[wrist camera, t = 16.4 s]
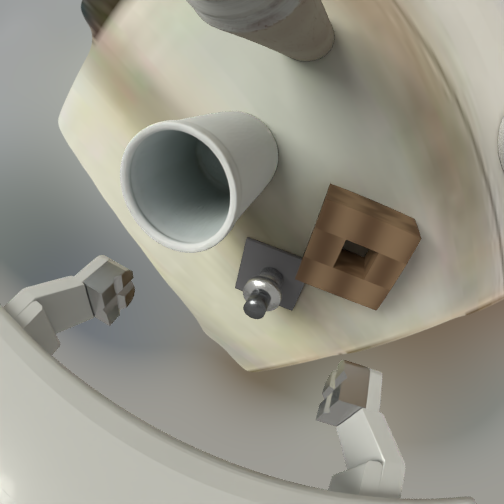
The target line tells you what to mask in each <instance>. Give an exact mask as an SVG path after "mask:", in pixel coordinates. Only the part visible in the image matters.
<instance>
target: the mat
mask: <svg viewBox="0 0 504 504" xmlns="http://www.w3.org/2000/svg"><path fill="white" fill-rule="evenodd" d="M301 261H302V258H301V257H299V256H296V255H294V254H291V253H288V252H286V251H283V250H281V249H278V248H275V247H273V246H270V245H268V244H265V243H262V242H260V241H257V240H254V239H252V238H249V237H247V239H246V243H245V247H244V252H243V256H242V260H241V265H240V269H239V273H238V278H237V282H236V286H235V288H236V289H239V290H241V291H243V289H244V287H245V285H246V283H247V282H248V280H249V279H250V278H252V277H254V276H258V275H259V273H260V271H261V270H262V269H264V268H266V267H271V268H275V269H276V270H278V271H279V272H280V273H281V274H282V277H283V282H282V284H281V286H280V288H281V290H282V299H281V301H280V304H279V306H281V307H284V308H286V309H289V310H291V311H292V310H293V308H294V306H295V304H296V301H297V299H298V297H299V295H300V293H301V290H302V288H303V286H304V284H305V283H303V282H301V281H298V280H296V279H295V277H296V274H297V272H298V269H299V266H300V264H301Z"/></svg>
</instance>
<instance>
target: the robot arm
mask: <svg viewBox="0 0 504 504" xmlns="http://www.w3.org/2000/svg"><path fill="white" fill-rule="evenodd" d="M498 150H499V157H500V161H501V165H502V168H503V170H504V117H503V119H502V122H501V125H500V129H499V136H498ZM132 279H133V272H132V271H131V270H129V269H127V268H126V267H124V266H122V265H120V264H118V263H117V262H115V261H113V260H111V259H109V258H108V257H106V256H104V255H100V256H98V257H97V258H95V259H94V260H93V261H92V262H91V263H89V264H88V265H87V266H86V267H84V268H83V269H82V270H81V271H80V272H79V273H78V274H77V275H75V276H74V277H72V276H68V277H64V278H60V279H57V280H53V281H49V282H45V283H42V284H38V285H34V286H30V287H27V288H24V289H23V290H21V291H20V292H19V293H18V294H17V295H16V296H15V297H14V298H13V299H12V300H10V301H9V302H8V303H7V304H6V305H5V306H4V307H2V306H1V305H0V504H476V502H475V500H474V499H473V498H472V497H456V498H455V497H454V498H439V499H401V498H400V497H401V492H402V486H403V480H404V473H405V462H404V460H403V458H402V455H401V453H400V451H399V448H398V446H397V444H396V441H395V439H394V437H393V435H392V432H391V430H390V428H389V426H388V424H387V421H386V419H385V417H384V415H383V413H381V412H380V401H381V389H382V372H380V371H377V370H373V369H370V368H368V367H365V366H362V365H359V364H355V363H352V362H349V361H346V360H342V361H341V362H340V363H339V364H338V368H337V370H336V371H333V372H332V373H331V374H330V375H329V377H328V379H327V381H326V383H325V386H324V389H323V393H322V394H323V397H324V399H325V400H323V401H322V402H321V403H320V405H319V409H318V413H317V417H316V420H317V421H320V422H324V423H327V424H330V425H333V426H337V427H336V429H337V433H338V436H339V440H340V444H341V447H342V451H343V455H344V458H345V463H346V466H347V470H346V471H343V472H340V473H338V474H335V475H334V476H332V479H331V482H330V486H329V489H328V490H324V489H320V488H315V487H310V486H306V485H302V484H298V483H294V482H290V481H286V480H282V479H279V478H275V477H272V476H268V475H265V474H262V473H259V472H256V471H253V470H250V469H247V468H244V467H242V466H239V465H236V464H233V463H230V462H228V461H226V460H223V459H221V458H218V457H216V456H213V455H211V454H209V453H206V452H204V451H202V450H199V449H197V448H195V447H193V446H191V445H188V444H186V443H184V442H182V441H180V440H178V439H176V438H174V437H172V436H170V435H168V434H167V433H165V432H163V431H161V430H159V429H157V428H155V427H154V426H152V425H150V424H148V423H146V422H145V421H143V420H141V419H140V418H138V417H136V416H135V415H133V414H131V413H130V412H128V411H126V410H125V409H123V408H122V407H120V406H119V405H117V404H115V403H114V402H112V401H111V400H109V399H108V398H106V397H105V396H104V395H102V394H101V393H99V392H98V391H96V390H95V389H94V388H92V387H91V386H90V385H88V384H87V383H85V382H84V381H83V380H81V379H80V378H79V377H78V376H76V375H75V374H74V373H72V372H71V371H70V370H69V369H67V368H66V367H65V366H64V365H63V364H61V363H60V362H59V361H57V359H55V358H54V357H53V356H52V355H53V353H54V352H55V351H56V350H57V349H58V348H59V347H60V341H59V339H58V338H57V336H56V334H57V333H59V332H61V331H64V330H66V329H68V328H71V327H73V326H75V325H78V324H80V323H82V322H85V321H87V320H90V319H92V318H94V317H96V318H97V319H99V320H101V321H102V322H104V323H106V324H107V325H109V326H110V325H111V324H112V323H113V322H114V321H115V320H116V318H117V317H118V316H119V315H120V309H124V308H126V307H127V306H128V305H129V304H130V303H131V301H132V299H133V297H134V293H135V287H134V285H133V283H132V281H131V280H132Z"/></svg>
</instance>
